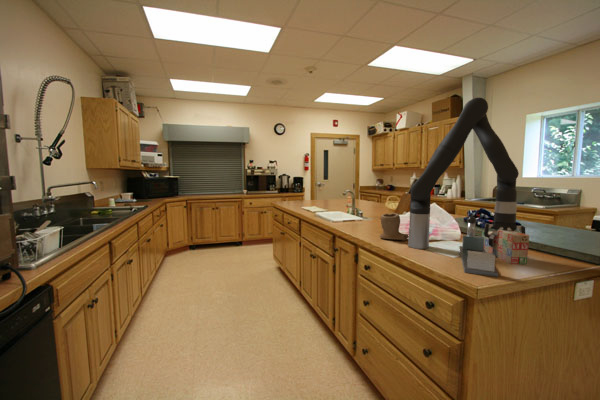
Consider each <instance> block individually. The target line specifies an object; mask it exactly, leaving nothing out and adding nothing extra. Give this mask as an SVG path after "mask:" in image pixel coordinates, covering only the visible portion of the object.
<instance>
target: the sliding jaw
mask: <svg viewBox="0 0 600 400" xmlns="http://www.w3.org/2000/svg"><path fill="white" fill-rule="evenodd" d="M466 223H467V228H466V229H467V230H466V231H467V232H466V234H462V245H461V246H462V248H463V249H470V250H479V251H483V250H484V237H482V235H480V236H478V235H475V234H476V224H477V218H476V217H475V216H468V217H467V219H466Z"/></svg>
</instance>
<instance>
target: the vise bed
mask: <svg viewBox="0 0 600 400" xmlns="http://www.w3.org/2000/svg"><path fill="white" fill-rule="evenodd" d="M459 249H460V250H459ZM459 249H458V250H459V254H460V258H461V262H462V268H463V272H464V273H465V274H472V275H477V276H478V275H480V276H486V277H493V278H499V272H498V270H497V269H496V267H495V266H496V265H495V264H496V256H495V254H494V253H487V252H486V251H485V249H484V250H483V251H479V250H470V249H463V248H462V245H461V246H459Z"/></svg>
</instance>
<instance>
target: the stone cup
mask: <svg viewBox="0 0 600 400" xmlns="http://www.w3.org/2000/svg"><path fill="white" fill-rule="evenodd" d="M380 225H381V228H382V231H383V233H380V234H379V238H380V239H384V240H385V239H386V240H393V241H406V240H408V235H409V233H403V232H400V225H401V217H400V214H399V213H395V212H391V213H384V214H382V215H380Z"/></svg>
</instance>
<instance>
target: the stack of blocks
mask: <svg viewBox="0 0 600 400" xmlns="http://www.w3.org/2000/svg"><path fill="white" fill-rule="evenodd" d="M493 231H494V232H495V231H496V230H495V229H494V228H493ZM493 231H491V230H489V231H488V235H490V234H491V233H492V232H493ZM481 236H482V237H484V249H485V251H486V253H494V254H495V258H498V259H500V260H502V261H503V262H506V263H508V264H511V265H527V264H528V253H529V247H530V235H529V234H526V233H525V234H524V233H521V232H520V231H516V230H515V231H507V230H498V234H497V235H496V236H494V237H493V238H492V239H493V247H490V246H489V244H488V241H489V238H488V237H485V236H484V230H482V231H481Z"/></svg>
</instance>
